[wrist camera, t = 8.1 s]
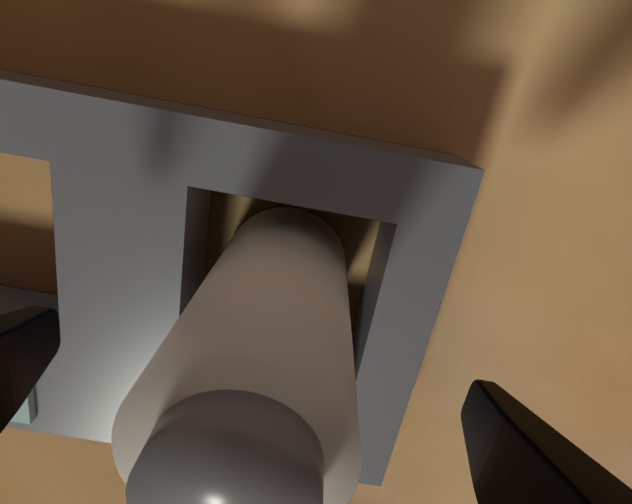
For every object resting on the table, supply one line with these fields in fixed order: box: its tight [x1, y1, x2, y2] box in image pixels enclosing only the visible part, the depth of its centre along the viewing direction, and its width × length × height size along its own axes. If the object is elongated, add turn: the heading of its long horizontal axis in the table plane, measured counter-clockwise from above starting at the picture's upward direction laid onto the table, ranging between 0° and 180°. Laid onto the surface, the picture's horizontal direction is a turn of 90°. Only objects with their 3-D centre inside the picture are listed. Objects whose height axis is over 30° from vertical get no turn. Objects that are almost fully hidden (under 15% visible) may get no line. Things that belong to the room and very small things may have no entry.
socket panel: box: [0, 69, 484, 486], centre depth 13 cm, size 11×18×3 cm, turn 80°
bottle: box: [111, 207, 362, 504], centre depth 10 cm, size 4×4×9 cm
